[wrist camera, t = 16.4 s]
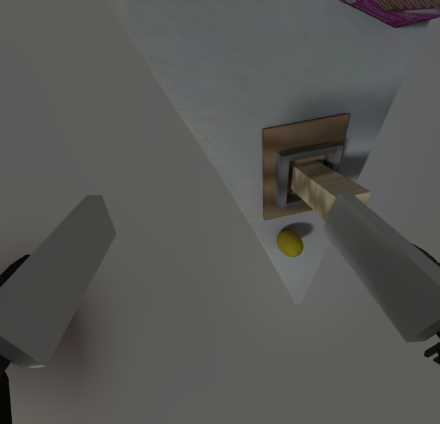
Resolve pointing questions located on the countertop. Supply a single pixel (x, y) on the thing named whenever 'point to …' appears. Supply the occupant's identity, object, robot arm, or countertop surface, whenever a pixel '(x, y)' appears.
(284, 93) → the countertop surface
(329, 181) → the maple post
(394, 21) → the candy bar box
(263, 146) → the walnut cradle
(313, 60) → the countertop surface
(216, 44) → the countertop surface
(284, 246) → the lemon
